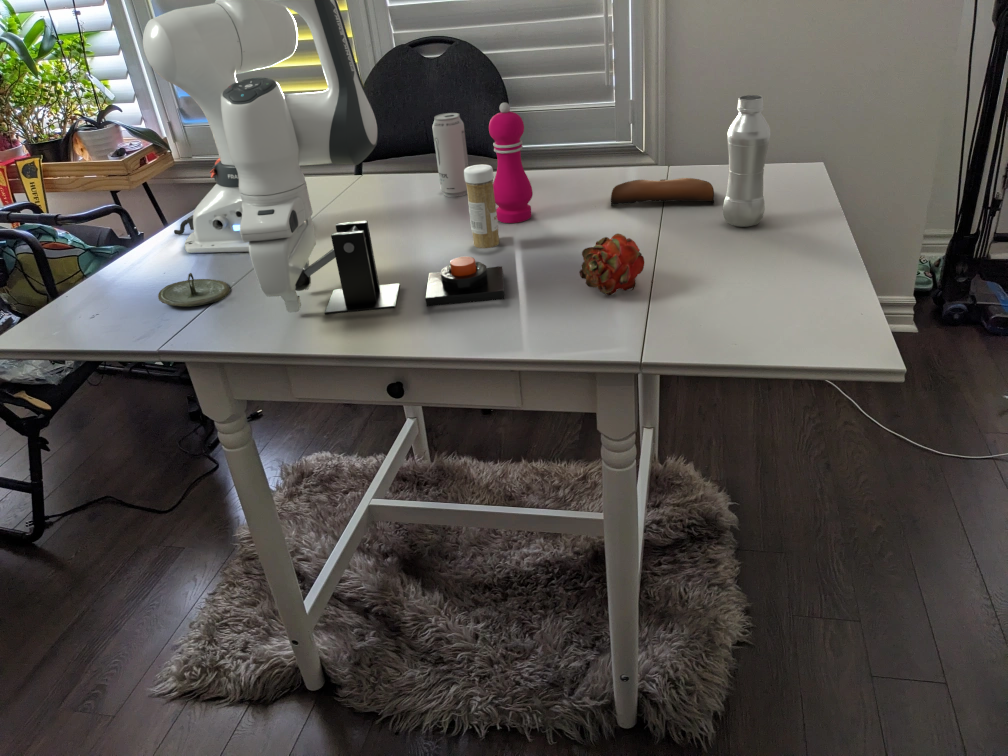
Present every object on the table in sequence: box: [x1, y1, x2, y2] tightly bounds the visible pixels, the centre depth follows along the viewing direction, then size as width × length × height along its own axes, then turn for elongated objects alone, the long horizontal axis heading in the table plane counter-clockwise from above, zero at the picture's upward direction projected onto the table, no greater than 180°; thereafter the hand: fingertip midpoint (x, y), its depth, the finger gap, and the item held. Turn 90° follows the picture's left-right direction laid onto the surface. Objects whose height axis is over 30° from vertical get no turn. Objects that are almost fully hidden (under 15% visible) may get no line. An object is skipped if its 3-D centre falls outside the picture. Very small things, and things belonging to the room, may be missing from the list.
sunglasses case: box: [610, 177, 715, 207], centre depth 144 cm, size 18×7×7 cm, turn 79°
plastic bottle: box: [722, 94, 772, 228], centre depth 126 cm, size 6×7×20 cm
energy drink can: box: [431, 112, 470, 198], centre depth 156 cm, size 6×6×15 cm
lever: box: [295, 226, 366, 292], centre depth 113 cm, size 13×3×3 cm, turn 91°
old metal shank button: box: [157, 272, 231, 307], centre depth 123 cm, size 11×10×5 cm
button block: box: [424, 261, 505, 308], centre depth 116 cm, size 11×9×4 cm
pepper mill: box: [488, 102, 534, 224], centre depth 139 cm, size 7×7×20 cm
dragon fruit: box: [578, 233, 645, 296], centre depth 112 cm, size 8×8×12 cm
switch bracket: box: [324, 220, 401, 315], centre depth 114 cm, size 10×8×12 cm
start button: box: [449, 255, 476, 276], centre depth 114 cm, size 4×4×2 cm
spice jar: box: [464, 163, 500, 249], centre depth 129 cm, size 5×5×13 cm
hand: (300, 298), depth 116 cm, fingers open, 6 cm apart
